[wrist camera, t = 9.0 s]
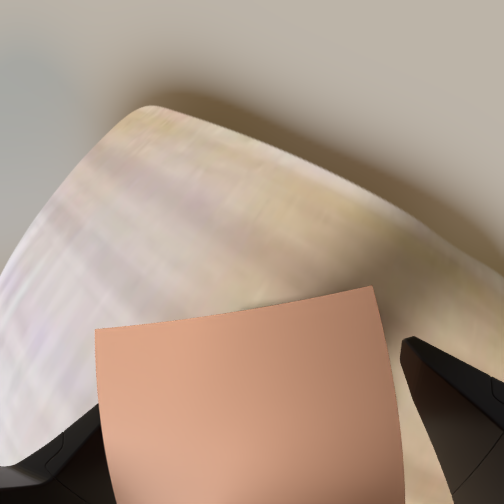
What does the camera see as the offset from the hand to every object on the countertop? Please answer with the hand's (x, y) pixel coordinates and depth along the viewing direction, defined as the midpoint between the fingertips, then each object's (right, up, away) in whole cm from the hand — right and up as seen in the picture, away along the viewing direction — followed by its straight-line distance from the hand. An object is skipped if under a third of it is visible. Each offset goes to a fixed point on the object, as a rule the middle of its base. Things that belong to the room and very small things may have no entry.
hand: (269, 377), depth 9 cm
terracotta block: (+1, -4, +7) cm, 8 cm away
